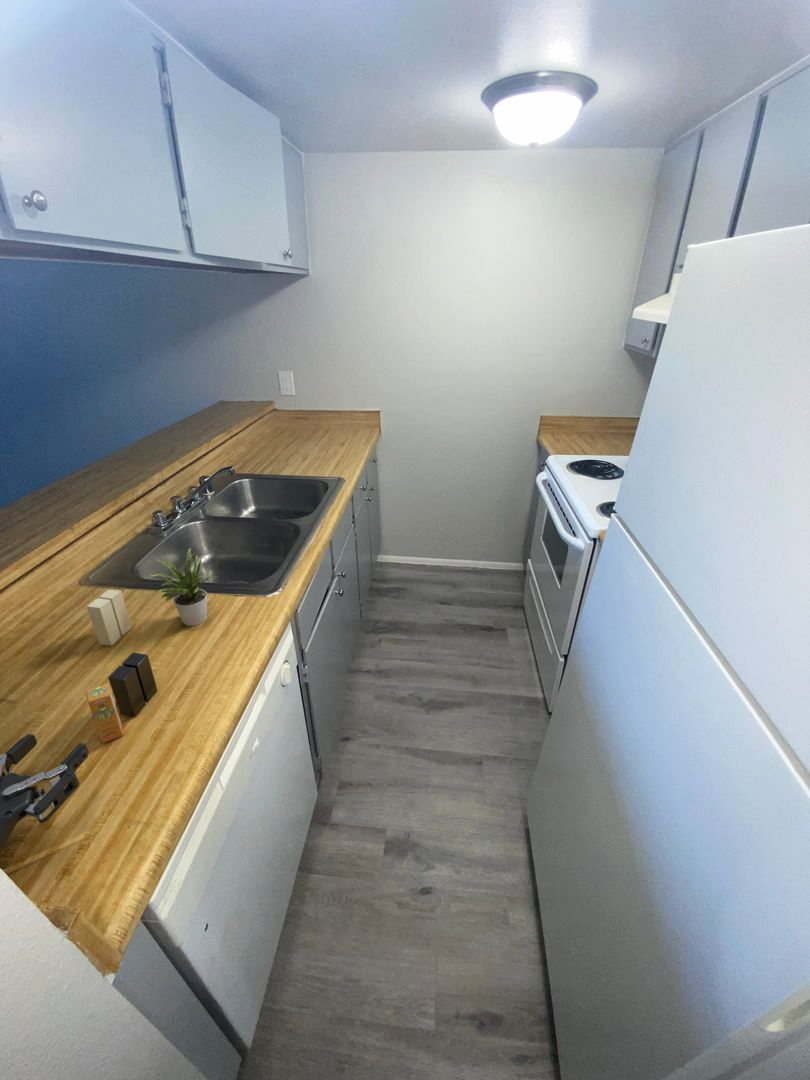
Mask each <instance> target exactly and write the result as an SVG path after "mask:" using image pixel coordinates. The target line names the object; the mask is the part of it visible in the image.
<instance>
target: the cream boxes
mask: <svg viewBox="0 0 810 1080" xmlns="http://www.w3.org/2000/svg"><path fill="white" fill-rule="evenodd" d="M86 608H87V611H88V614H89V618H90V621H91V623H92V627H93V630H94V633H95V635H96V639H97V642H98V645H102V646H108V647H109V646H110V647H112V646H114V645H115V644H116V643H117V642H118V641H119V640H120V639H122V636H124V635H125V634H126V633H128V632H129V631H130V630H131V629H132V624H131V620H130V617H129V613H128V609H127V605H126V603H125V599H124V595H123V593H122V590H118V589H111V588H108V589H107V590H106V591H104V592H103V593H102V594H101V595H99V596H98V597H96V599H94V600H93V601H92V602H91V603H89V604H88V605H86Z"/></svg>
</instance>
